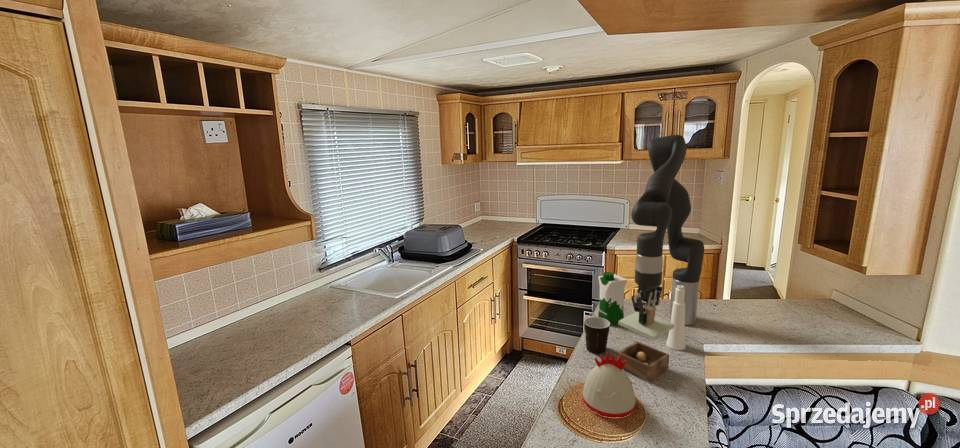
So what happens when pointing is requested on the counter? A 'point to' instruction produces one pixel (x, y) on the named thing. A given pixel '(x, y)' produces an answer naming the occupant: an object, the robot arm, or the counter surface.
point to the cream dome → (609, 388)
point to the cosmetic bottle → (677, 321)
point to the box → (638, 368)
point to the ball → (641, 356)
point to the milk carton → (611, 297)
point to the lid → (647, 324)
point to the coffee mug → (596, 334)
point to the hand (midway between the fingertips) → (645, 321)
